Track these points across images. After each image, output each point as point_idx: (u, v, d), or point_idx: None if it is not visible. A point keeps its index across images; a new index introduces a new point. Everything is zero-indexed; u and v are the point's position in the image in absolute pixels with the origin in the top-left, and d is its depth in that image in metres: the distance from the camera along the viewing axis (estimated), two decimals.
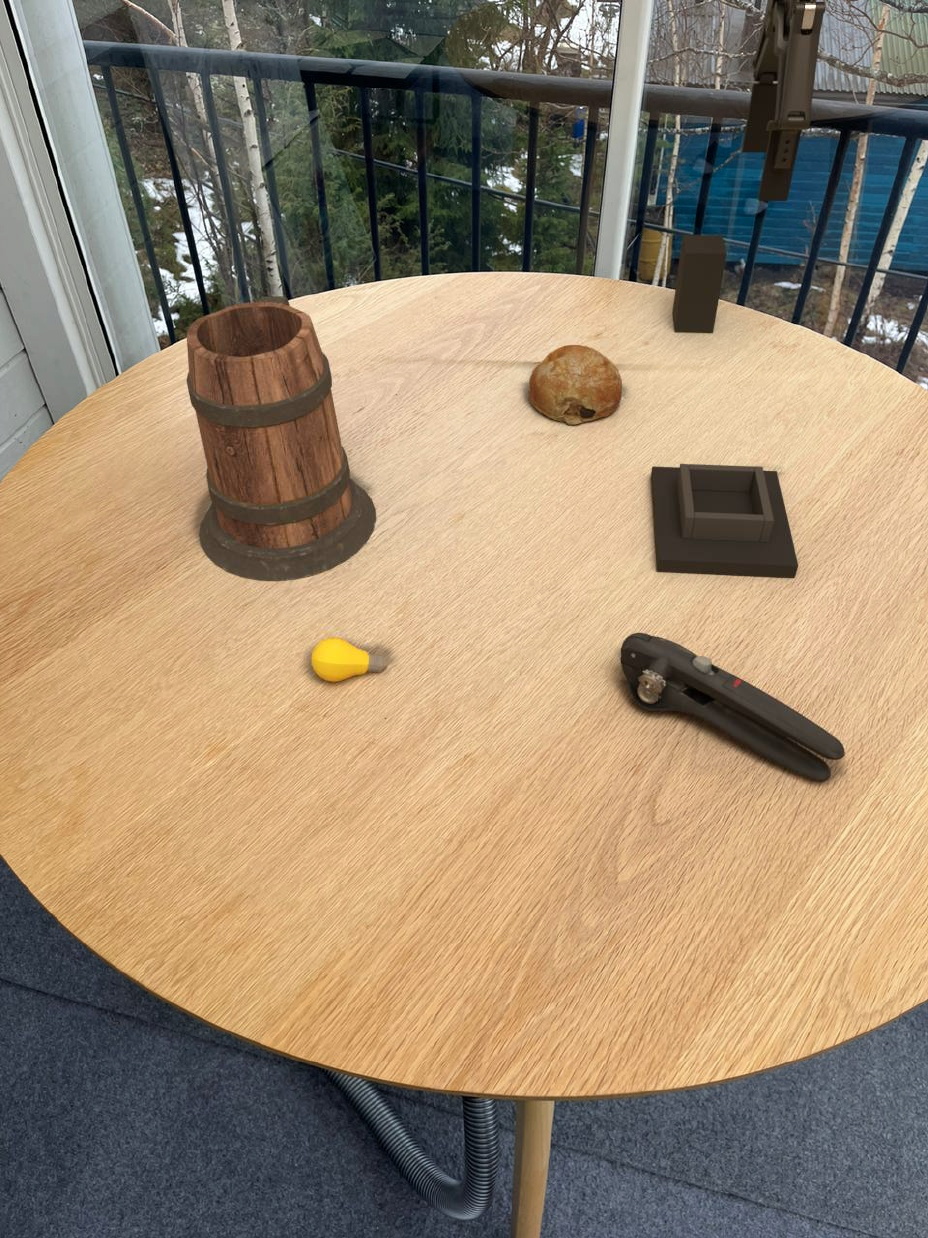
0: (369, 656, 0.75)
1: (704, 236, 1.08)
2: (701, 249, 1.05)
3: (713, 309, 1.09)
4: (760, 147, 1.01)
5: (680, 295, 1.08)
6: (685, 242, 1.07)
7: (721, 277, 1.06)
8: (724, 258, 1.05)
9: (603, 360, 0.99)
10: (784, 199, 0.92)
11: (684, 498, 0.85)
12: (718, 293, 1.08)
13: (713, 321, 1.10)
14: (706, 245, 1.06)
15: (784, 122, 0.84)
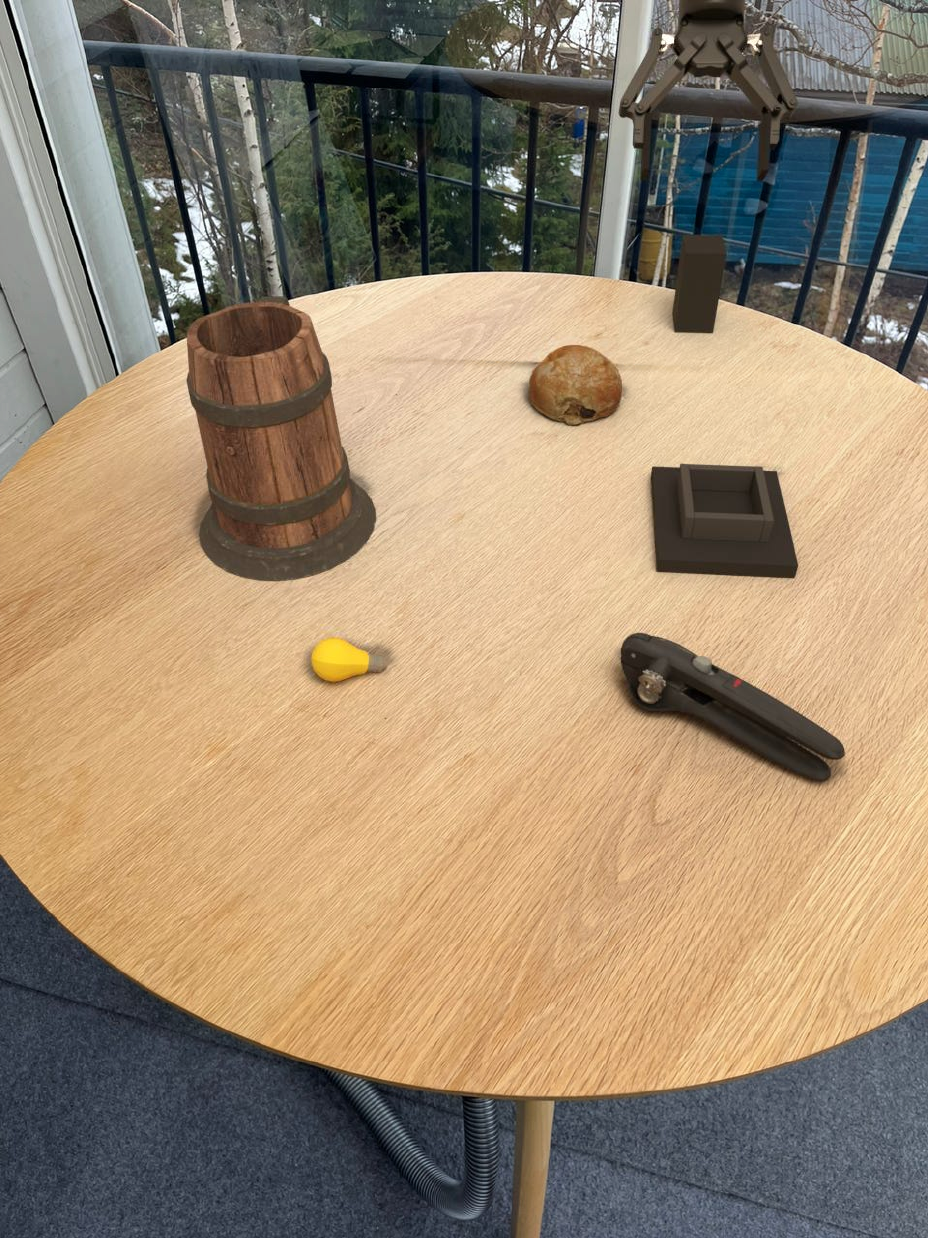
0: (369, 656, 0.75)
1: (704, 236, 1.08)
2: (701, 249, 1.05)
3: (713, 309, 1.09)
4: None
5: (680, 295, 1.08)
6: (685, 242, 1.07)
7: (721, 277, 1.06)
8: (724, 258, 1.05)
9: (603, 360, 0.99)
10: (763, 178, 1.10)
11: (684, 498, 0.85)
12: (718, 293, 1.08)
13: (713, 321, 1.10)
14: (706, 245, 1.06)
15: None
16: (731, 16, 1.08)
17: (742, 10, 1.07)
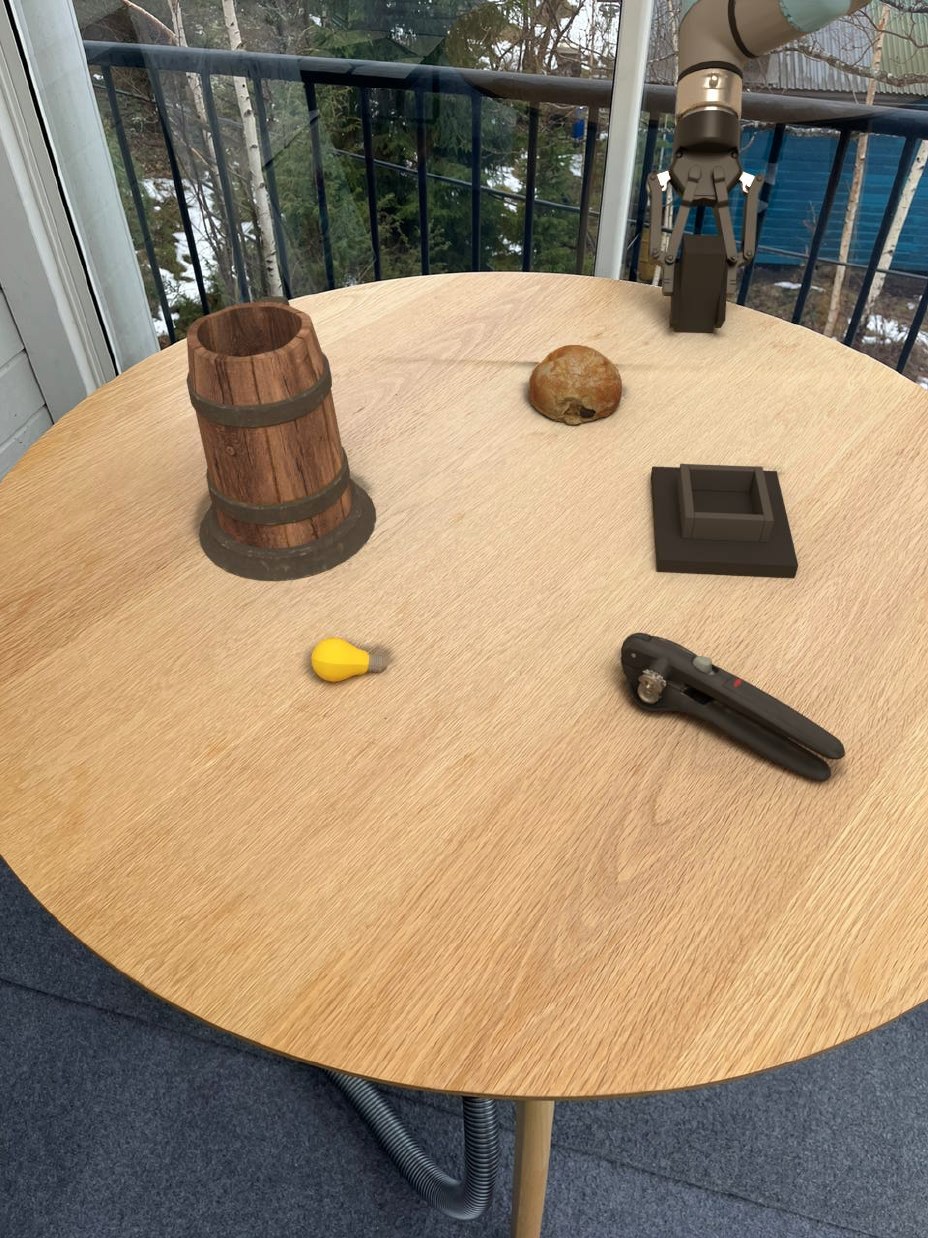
0: (369, 656, 0.75)
1: (704, 236, 1.08)
2: (701, 249, 1.05)
3: (713, 309, 1.09)
4: None
5: (680, 295, 1.08)
6: (685, 242, 1.07)
7: (721, 277, 1.06)
8: (724, 258, 1.05)
9: (603, 360, 0.99)
10: None
11: (684, 498, 0.85)
12: (718, 293, 1.08)
13: (713, 321, 1.10)
14: (706, 245, 1.06)
15: (753, 255, 1.08)
16: (726, 149, 1.07)
17: (737, 144, 1.07)
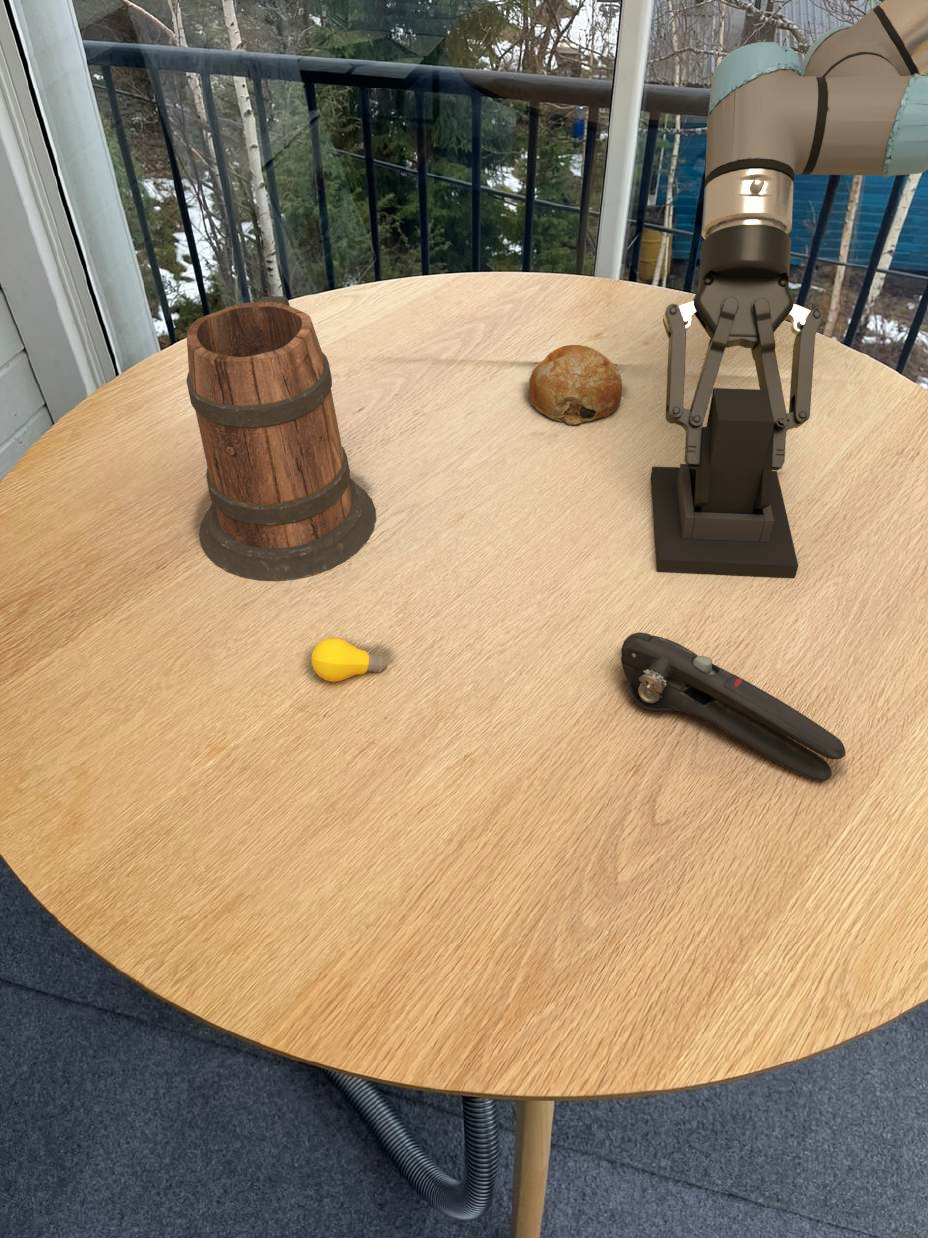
0: (369, 656, 0.75)
1: (742, 391, 0.80)
2: (740, 414, 0.78)
3: (753, 487, 0.82)
4: None
5: None
6: (717, 401, 0.79)
7: (766, 449, 0.79)
8: (771, 427, 0.77)
9: (603, 360, 0.99)
10: (763, 507, 0.82)
11: (684, 498, 0.85)
12: (761, 468, 0.80)
13: (753, 500, 0.83)
14: (746, 406, 0.78)
15: (808, 417, 0.80)
16: (772, 276, 0.80)
17: (787, 268, 0.79)
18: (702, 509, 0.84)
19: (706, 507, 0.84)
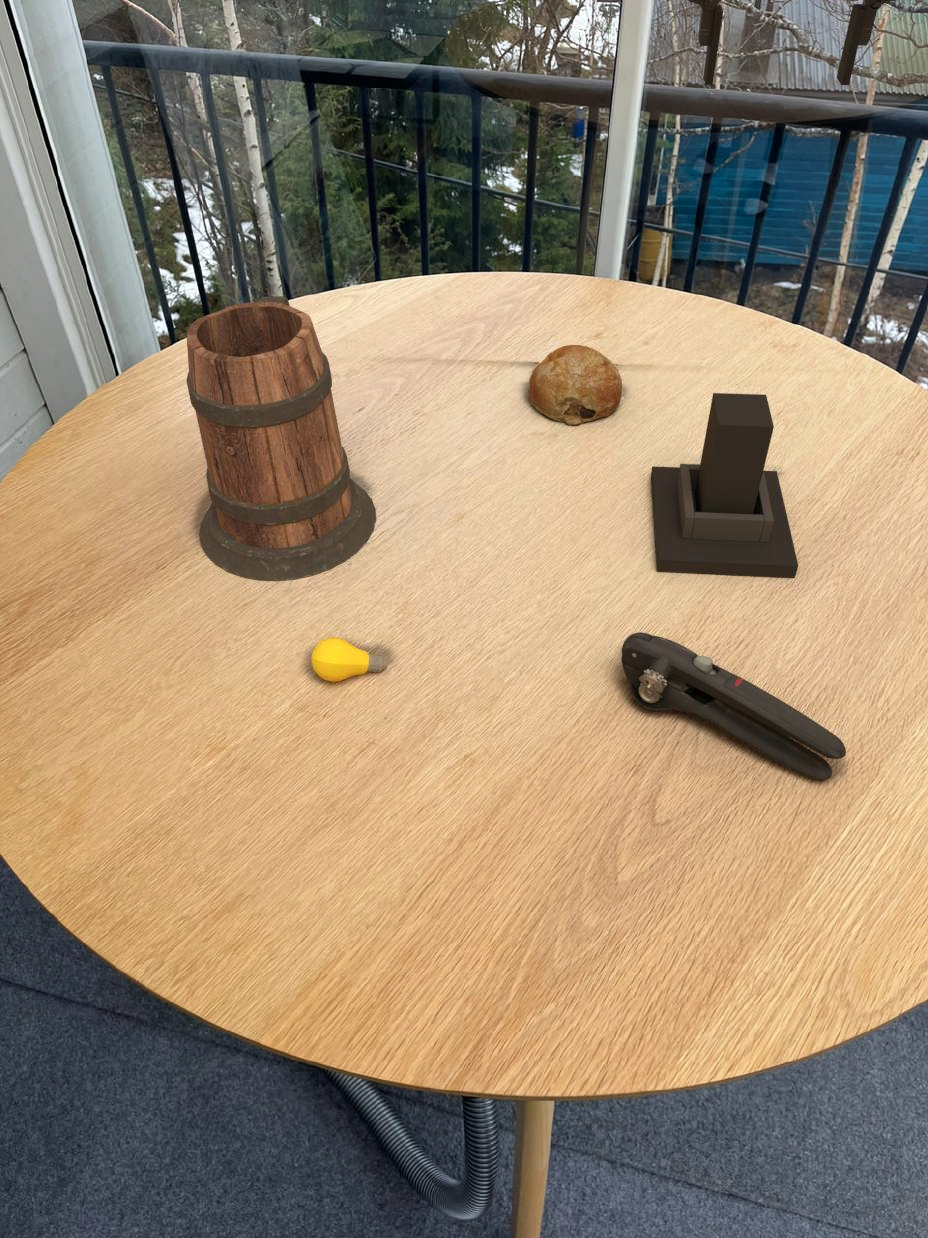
0: (369, 656, 0.75)
1: (742, 396, 0.81)
2: (739, 419, 0.78)
3: (753, 491, 0.82)
4: None
5: (709, 474, 0.81)
6: (717, 406, 0.80)
7: (765, 454, 0.79)
8: (770, 432, 0.78)
9: (603, 360, 0.99)
10: None
11: (684, 498, 0.85)
12: (760, 473, 0.80)
13: (753, 505, 0.83)
14: (746, 411, 0.79)
15: None
16: None
17: None
18: None
19: (706, 511, 0.84)
